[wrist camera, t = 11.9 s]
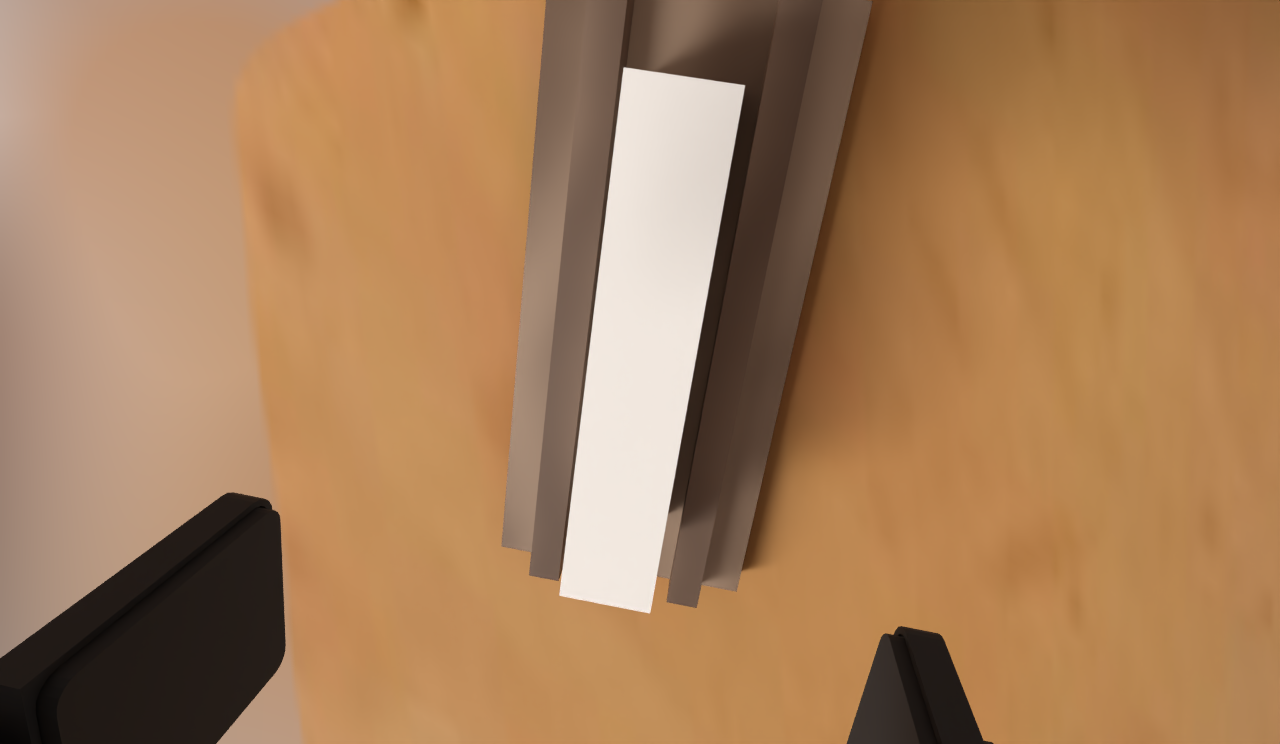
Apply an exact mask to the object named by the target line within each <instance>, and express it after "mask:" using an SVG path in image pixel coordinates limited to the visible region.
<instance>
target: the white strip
mask: <svg viewBox="0 0 1280 744" xmlns="http://www.w3.org/2000/svg"><path fill="white" fill-rule="evenodd" d="M744 89H745V85H739V84H733V83H726V82H719V81H713V80H706V79H699V78H692V77H686V76H679V75H672V74H666V73H659V72H652V71H645V70H639V69H632V68H625V67H624V68H623V77H622V85H621V93H620V101H619V110H618V118H617V126H616V134H615V142H614V151H613V159H612V167H611V175H610V184H609V192H608V200H607V208H606V216H605V225H604V233H603V241H602V249H601V258H600V266H599V274H598V282H597V291H596V299H595V307H594V315H593V323H592V332H591V340H590V348H589V356H588V365H587V373H586V381H585V389H584V397H583V406H582V414H581V422H580V430H579V439H578V447H577V455H576V463H575V471H574V480H573V488H572V496H571V504H570V513H569V521H568V529H567V537H566V546H565V554H564V562H563V570H562V578H561V587H560V595H559V596H564V597H569V598H574V599H579V600H585V601H590V602H595V603H600V604H605V605H610V606H615V607H620V608H625V609H630V610H635V611H640V612H646V613H650V611H651V605H652V600H653V594H654V588H655V583H656V577H657V572H658V566H659V561H660V555H661V550H662V544H663V539H664V533H665V527H666V522H667V516H668V511H669V505H670V500H671V494H672V489H673V483H674V478H675V472H676V466H677V461H678V455H679V450H680V444H681V439H682V433H683V428H684V422H685V416H686V411H687V405H688V400H689V394H690V389H691V383H692V378H693V372H694V367H695V361H696V355H697V350H698V344H699V339H700V333H701V328H702V322H703V317H704V311H705V306H706V300H707V294H708V289H709V283H710V278H711V272H712V267H713V261H714V256H715V250H716V244H717V239H718V233H719V228H720V222H721V217H722V211H723V206H724V200H725V195H726V189H727V183H728V178H729V172H730V167H731V161H732V156H733V150H734V145H735V139H736V134H737V128H738V122H739V117H740V111H741V106H742V100H743V95H744Z"/></svg>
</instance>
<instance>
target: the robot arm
mask: <svg viewBox="0 0 1280 744" xmlns="http://www.w3.org/2000/svg"><path fill="white" fill-rule="evenodd" d="M285 646H286V645H285V620H284V596H283V572H282V548H281V524H280V515H279V514H278V512H276V511H274V510H272V505H271V504H270V502H269V501H268V500H266V499H263V498H258V497H253V496H248V495H243V494H238V493H227V494H225V495H223V496H221V497H220V498H219V499H217V500H216V501H214V502H213V503H212V504H210V505H209V506H208V507H206V508H205V509H203V510H202V511H201V512H199V513H198V514H197V515H195V516H194V517H193V518H191V519H190V520H189V521H187V522H186V523H184V524H183V525H182V526H180V527H179V528H178V529H176V530H175V531H173V532H172V533H171V534H169V535H168V536H167V537H165V538H164V539H163V540H161V541H160V542H158V543H157V544H156V545H154V546H153V547H152V548H150V549H149V550H148V551H146V552H145V553H143V554H142V555H141V556H139V557H138V558H137V559H135V560H134V561H133V562H131V563H130V564H128V565H127V566H126V567H124V568H123V569H122V570H120V571H119V572H118V573H116V574H115V575H114V576H112V577H111V578H109V579H108V580H107V581H105V582H104V583H103V584H101V585H100V586H98V587H97V588H96V589H94V590H93V591H92V592H90V593H89V594H87V595H86V596H85V597H83V598H82V599H81V600H79V601H78V602H77V603H75V604H74V605H72V606H71V607H70V608H69V609H67V610H66V611H64V612H63V613H62V614H60V615H59V616H57V617H56V618H55V619H53V620H52V621H51V622H49V623H48V624H47V625H45V626H44V627H42V628H41V629H40V630H39V631H37V632H36V633H35V634H33V635H31V636H30V637H29V638H27V639H26V640H25V641H23V642H22V643H21V644H19V645H18V646H17V647H15V648H14V649H12V650H11V651H10V652H8V653H7V654H6V655H4V656H3V657H2V658H0V744H216V743H217V742H218V741H219V740H220V739H221V737H222V736H223V735H224V734H225V733H226V731H227V730H228V729H229V727H230V726H231V725H232V724H233V723H234V722H235V721H236V719H237V718H238V717H239V716H240V715H241V713H242V712H243V711H244V710H245V708H246V707H247V706H248V705H249V704H250V703H251V701H252V700H253V699H254V698H255V697H256V695H257V694H258V693H259V692H260V691H261V689H262V688H263V687H264V686H265V685H266V683H267V682H268V681H269V680H270V679H271V677H272V676H273V675H274V674H275V672H276V671H277V670H278V668H279V666H280V664H281V662H282V660H283V657H284V653H285ZM847 744H993V743H992V742H988V741H983V738H982V736H981V733H980V731H979V728H978V726H977V723H976V721H975V718H974V715H973V713H972V710H971V708H970V705H969V703H968V700H967V698H966V695H965V692H964V690H963V687H962V685H961V682H960V680H959V677H958V675H957V672H956V669H955V667H954V664H953V662H952V659H951V657H950V654H949V652H948V649H947V646H946V644H945V641H944V639H943V638H942V636H941V635H940V634H938V633H933V632H928V631H923V630H918V629H913V628H908V627H903V626H900V627H898V628H897V629H896V631H895V633H894V635H891V634H883V636H882V637H881V640H880V642H879V645H878V648H877V651H876V655H875V658H874V661H873V664H872V667H871V670H870V673H869V676H868V679H867V682H866V686H865V689H864V692H863V695H862V698H861V701H860V704H859V707H858V710H857V713H856V717H855V720H854V723H853V726H852V729H851V732H850V735H849V738H848V741H847Z"/></svg>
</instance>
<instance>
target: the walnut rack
mask: <svg viewBox="0 0 1280 744" xmlns="http://www.w3.org/2000/svg"><path fill="white" fill-rule="evenodd" d="M872 2H873V1H868V0H546V9H545V21H544V34H543V46H542V58H541V70H540V82H539V95H538V107H537V119H536V131H535V144H534V156H533V168H532V180H531V193H530V205H529V217H528V229H527V242H526V254H525V266H524V278H523V291H522V303H521V315H520V327H519V340H518V352H517V364H516V376H515V389H514V401H513V413H512V425H511V437H510V450H509V462H508V474H507V486H506V499H505V511H504V523H503V535H502V547H507V548H513V549H518V550H523V551H528V552H531V562H530V572H529V575H530V576H535V577H540V578H546V579H551V580H556V581H559V578H560V575H561V572H562V570H563V562H564V554H565V546H566V537H567V529H568V521H569V513H570V504H571V496H572V488H573V480H574V471H575V463H576V455H577V447H578V439H579V430H580V422H581V414H582V406H583V397H584V389H585V381H586V373H587V365H588V356H589V348H590V340H591V332H592V323H593V315H594V307H595V299H596V291H597V282H598V274H599V266H600V258H601V249H602V241H603V233H604V225H605V216H606V208H607V200H608V192H609V184H610V175H611V167H612V159H613V151H614V142H615V134H616V126H617V118H618V110H619V101H620V93H621V85H622V77H623V68H624V67H625V68H632V69H639V70H645V71H652V72H659V73H666V74H672V75H679V76H686V77H692V78H699V79H706V80H713V81H719V82H726V83H733V84H739V85H745V89H744V95H743V100H742V106H741V111H740V117H739V122H738V128H737V134H736V139H735V145H734V150H733V156H732V161H731V167H730V172H729V178H728V183H727V189H726V195H725V200H724V206H723V211H722V217H721V222H720V228H719V233H718V239H717V244H716V250H715V256H714V261H713V267H712V272H711V278H710V283H709V289H708V294H707V300H706V306H705V311H704V317H703V322H702V328H701V333H700V339H699V344H698V350H697V355H696V361H695V367H694V372H693V378H692V383H691V389H690V394H689V400H688V405H687V411H686V416H685V422H684V428H683V433H682V439H681V444H680V450H679V455H678V461H677V466H676V472H675V478H674V483H673V489H672V494H671V500H670V505H669V511H668V516H667V522H666V527H665V533H664V539H663V544H662V550H661V555H660V561H659V566H658V572H657V576H658V577H663V578H668V579H670V581H669V588H668V596H667V602H669V603H674V604H679V605H684V606H689V607H695V608H697V604H698V599H699V594H700V589H701V585H705V586H710V587H715V588H720V589H726V590H731V591H736V592H737V587H738V583H739V579H740V574H741V570H742V566H743V561H744V557H745V553H746V548H747V544H748V540H749V535H750V531H751V527H752V522H753V518H754V514H755V509H756V505H757V501H758V496H759V492H760V488H761V483H762V479H763V475H764V470H765V466H766V462H767V457H768V453H769V449H770V444H771V440H772V436H773V431H774V427H775V423H776V418H777V414H778V410H779V405H780V401H781V397H782V392H783V388H784V384H785V379H786V375H787V371H788V366H789V362H790V358H791V353H792V349H793V345H794V340H795V336H796V332H797V327H798V323H799V319H800V314H801V310H802V305H803V301H804V297H805V292H806V288H807V284H808V279H809V275H810V271H811V266H812V262H813V258H814V253H815V249H816V245H817V240H818V236H819V232H820V227H821V223H822V219H823V214H824V210H825V206H826V201H827V197H828V193H829V188H830V184H831V180H832V175H833V171H834V167H835V162H836V158H837V154H838V149H839V145H840V141H841V136H842V132H843V128H844V123H845V119H846V115H847V110H848V106H849V102H850V97H851V93H852V89H853V84H854V80H855V76H856V71H857V67H858V63H859V58H860V54H861V50H862V45H863V41H864V37H865V32H866V28H867V23H868V19H869V15H870V10H871V6H872Z"/></svg>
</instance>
